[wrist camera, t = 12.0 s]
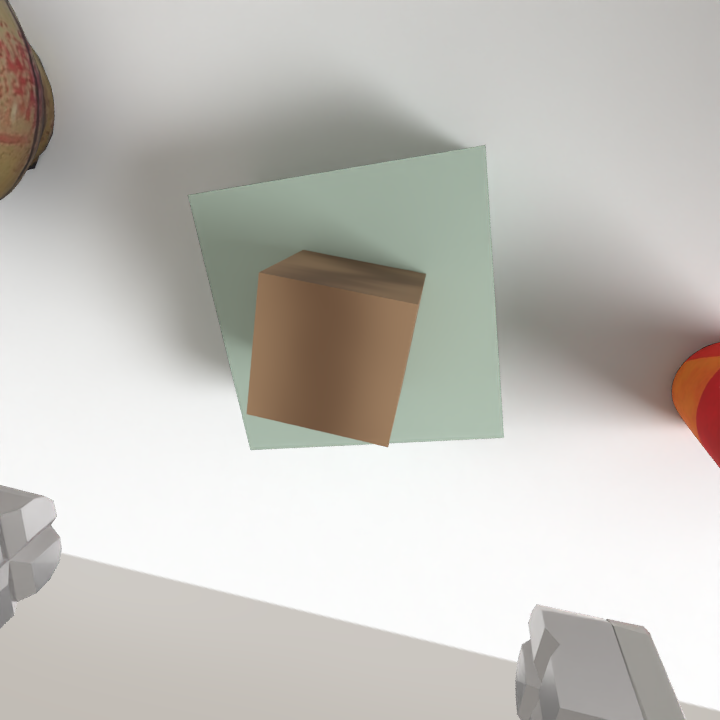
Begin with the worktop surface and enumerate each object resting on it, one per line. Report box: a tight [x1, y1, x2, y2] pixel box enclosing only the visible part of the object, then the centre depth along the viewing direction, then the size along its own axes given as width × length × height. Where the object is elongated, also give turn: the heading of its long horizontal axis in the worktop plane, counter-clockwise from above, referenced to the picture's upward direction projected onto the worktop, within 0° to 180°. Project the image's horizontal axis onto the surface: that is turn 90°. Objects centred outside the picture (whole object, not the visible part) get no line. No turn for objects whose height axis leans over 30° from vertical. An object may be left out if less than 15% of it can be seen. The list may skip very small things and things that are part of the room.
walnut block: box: [247, 250, 426, 447], centre depth 22 cm, size 6×6×6 cm
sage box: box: [188, 145, 504, 450], centre depth 29 cm, size 14×14×8 cm
